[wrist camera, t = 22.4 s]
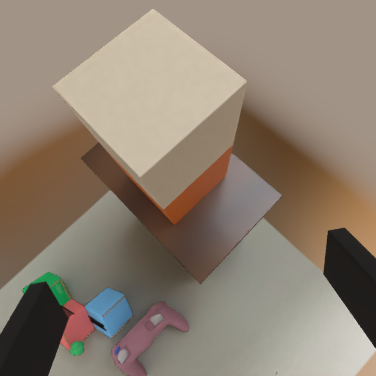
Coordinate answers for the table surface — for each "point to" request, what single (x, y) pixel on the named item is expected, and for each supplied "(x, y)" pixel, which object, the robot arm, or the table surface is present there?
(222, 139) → the cream and orange block
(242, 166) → the shelf
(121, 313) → the building blocks
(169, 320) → the video game controller
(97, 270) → the table surface
